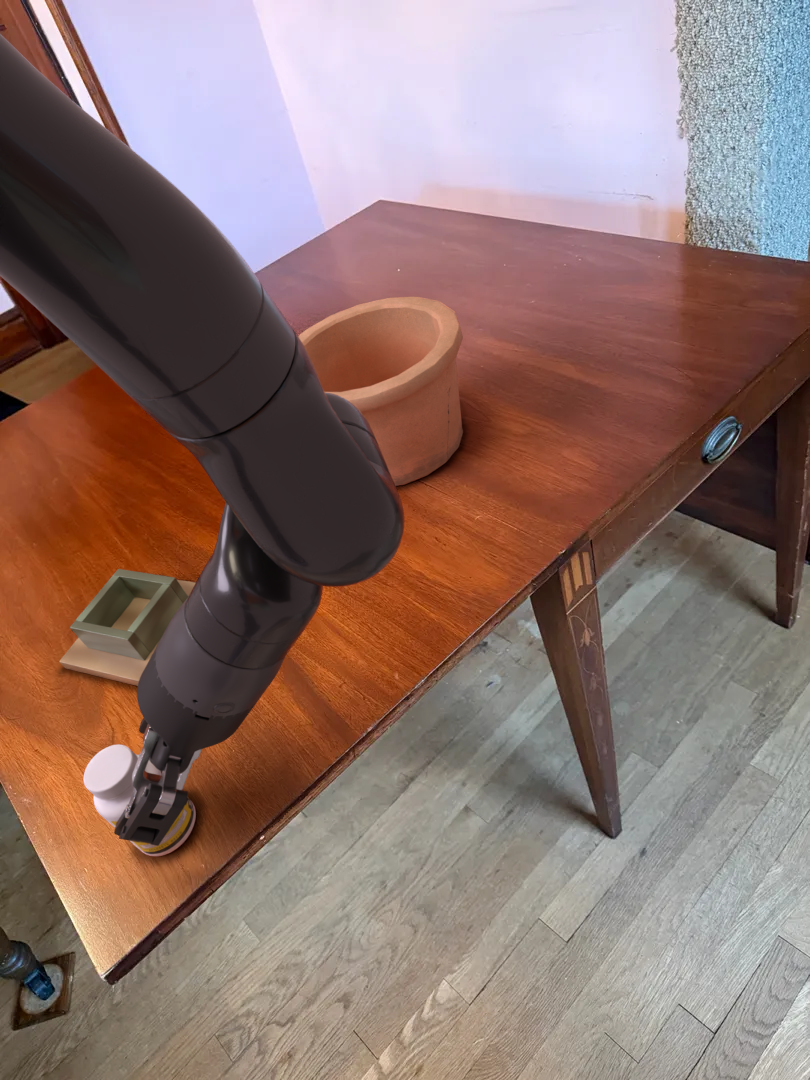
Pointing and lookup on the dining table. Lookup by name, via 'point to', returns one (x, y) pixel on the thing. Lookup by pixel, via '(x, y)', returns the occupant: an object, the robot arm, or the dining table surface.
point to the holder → (124, 625)
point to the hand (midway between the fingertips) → (140, 780)
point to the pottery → (396, 377)
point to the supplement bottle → (114, 790)
